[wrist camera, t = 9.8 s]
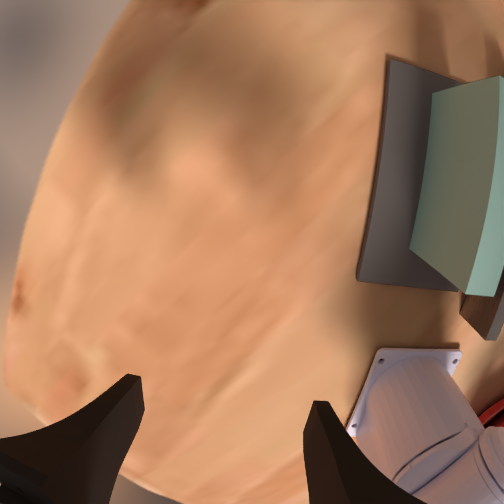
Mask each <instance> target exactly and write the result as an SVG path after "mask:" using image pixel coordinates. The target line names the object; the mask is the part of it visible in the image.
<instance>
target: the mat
mask: <svg viewBox="0 0 504 504" xmlns="http://www.w3.org/2000/svg"><path fill="white" fill-rule="evenodd" d="M460 85H463V84H462V83H459V82H457V81H454V80H452V79H449V78H447V77H444V76H441V75H439V74H436V73H433V72H431V71H428V70H425V69H422V68H419V67H416V66H413V65H410V64H406V63H403V62H400V61H397V60H393V59H390V60H388V61H387V75H386V89H385V101H384V111H383V121H382V130H381V138H380V146H379V154H378V161H377V168H376V175H375V181H374V187H373V194H372V199H371V205H370V211H369V216H368V222H367V227H366V232H365V237H364V242H363V247H362V252H361V256H360V261H359V265H358V270H357V274H356V279H357V280H358V281H360V282H369V283H378V284H388V285H397V286H406V287H415V288H425V289H435V290H444V291H454V292H458V290H459V288H457V287H456V286H455V285H454V284H453V283H451V282H450V281H449V280H448V279H447V278H445V277H444V276H443V275H442V274H440V273H439V272H438V271H437V270H436V269H434V268H433V267H432V266H431V265H429V264H428V263H427V262H426V261H424V260H423V259H422V258H421V257H419V256H418V255H417V254H415V253H414V252H413V251H412V250H410V249H409V247H410V243H411V238H412V234H413V229H414V224H415V220H416V215H417V209H418V204H419V199H420V193H421V187H422V181H423V175H424V168H425V161H426V154H427V146H428V137H429V128H430V117H431V105H432V93H435V92H439V91H442V90H445V89H449V88H452V87H456V86H460Z"/></svg>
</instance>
